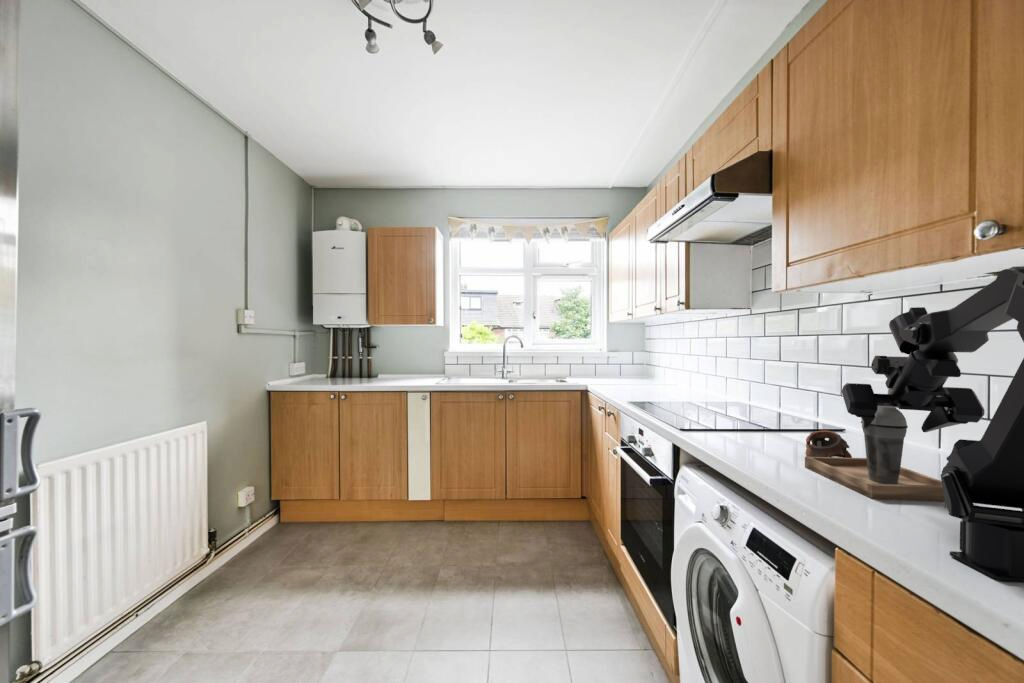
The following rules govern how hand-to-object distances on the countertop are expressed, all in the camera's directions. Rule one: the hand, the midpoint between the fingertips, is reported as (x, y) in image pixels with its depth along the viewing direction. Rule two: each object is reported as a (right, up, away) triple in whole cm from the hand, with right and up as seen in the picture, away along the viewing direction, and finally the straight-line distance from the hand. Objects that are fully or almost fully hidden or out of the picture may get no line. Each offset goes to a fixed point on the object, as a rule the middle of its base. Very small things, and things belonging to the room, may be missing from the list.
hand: (893, 428), depth 84 cm
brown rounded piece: (+4, -13, +24) cm, 28 cm away
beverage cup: (+2, -12, +4) cm, 13 cm away
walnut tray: (+2, -13, +6) cm, 14 cm away
